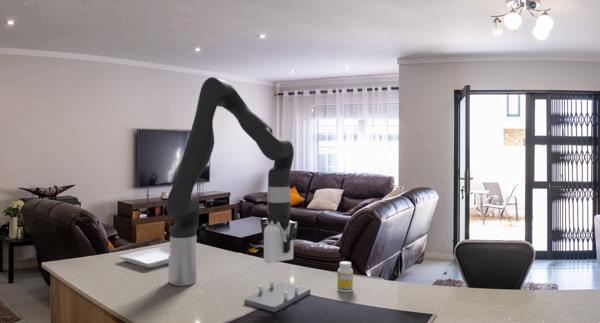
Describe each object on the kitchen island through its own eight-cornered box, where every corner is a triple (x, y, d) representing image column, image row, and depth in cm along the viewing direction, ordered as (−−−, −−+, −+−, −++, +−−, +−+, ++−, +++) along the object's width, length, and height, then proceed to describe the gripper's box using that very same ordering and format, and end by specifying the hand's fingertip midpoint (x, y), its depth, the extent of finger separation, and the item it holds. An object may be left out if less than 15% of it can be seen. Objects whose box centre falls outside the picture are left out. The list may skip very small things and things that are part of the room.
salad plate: (160, 253, 199) (160, 245, 199) (190, 260, 186) (190, 252, 186) (118, 263, 182) (118, 255, 182) (148, 272, 169) (148, 263, 169)
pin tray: (244, 303, 136) (244, 291, 136) (281, 286, 152) (282, 275, 152) (274, 312, 129) (274, 299, 129) (310, 293, 146) (310, 281, 146)
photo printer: (288, 256, 145) (288, 220, 144) (295, 259, 141) (295, 222, 141) (261, 261, 139) (261, 223, 139) (268, 264, 136) (268, 225, 135)
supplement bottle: (350, 293, 146) (350, 265, 146) (335, 291, 148) (335, 263, 148) (354, 288, 151) (354, 261, 151) (339, 286, 153) (340, 259, 153)
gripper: (303, 200, 139) (303, 252, 139) (268, 197, 147) (268, 246, 147) (290, 203, 132) (290, 257, 133) (254, 199, 140) (254, 250, 141)
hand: (278, 251), depth 140 cm, fingers closed on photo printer, 5 cm apart
